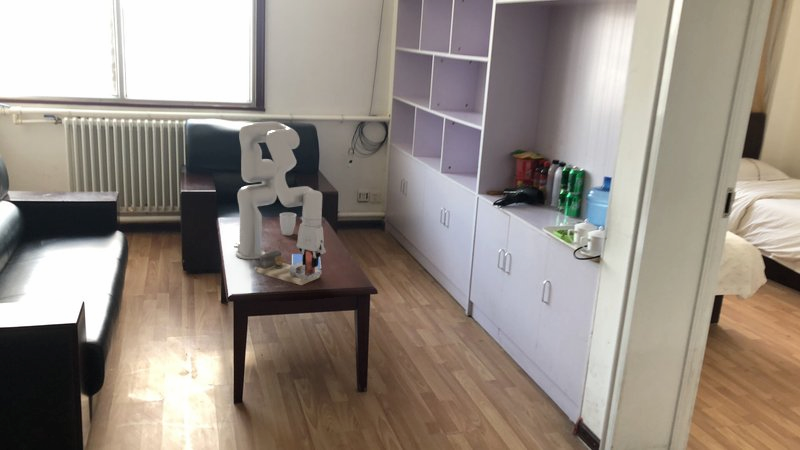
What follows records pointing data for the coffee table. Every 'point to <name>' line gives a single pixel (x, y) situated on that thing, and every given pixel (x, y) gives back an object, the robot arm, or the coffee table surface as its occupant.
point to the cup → (287, 223)
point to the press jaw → (305, 268)
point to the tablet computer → (298, 258)
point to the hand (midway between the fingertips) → (310, 265)
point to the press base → (279, 268)
